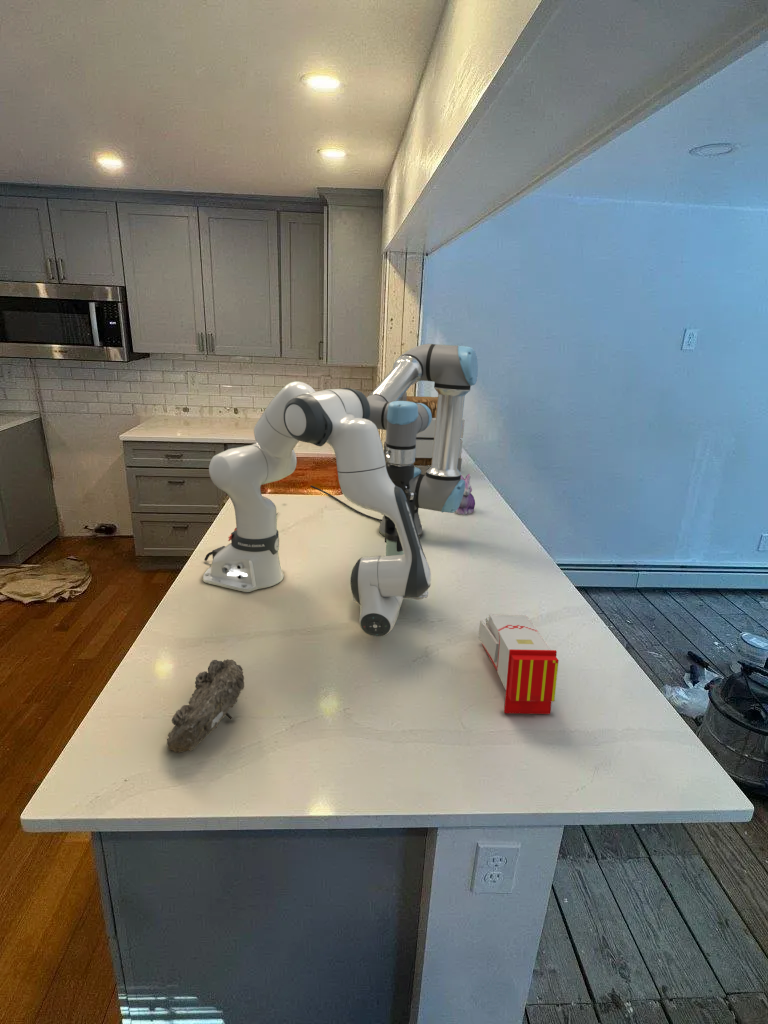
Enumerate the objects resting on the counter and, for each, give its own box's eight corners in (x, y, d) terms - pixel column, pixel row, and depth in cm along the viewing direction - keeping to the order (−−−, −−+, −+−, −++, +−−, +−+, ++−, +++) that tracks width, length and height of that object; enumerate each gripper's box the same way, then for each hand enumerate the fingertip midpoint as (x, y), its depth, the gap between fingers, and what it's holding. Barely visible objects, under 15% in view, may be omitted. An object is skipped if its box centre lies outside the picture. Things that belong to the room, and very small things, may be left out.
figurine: (461, 516, 219) (465, 479, 214) (447, 508, 227) (450, 472, 222) (481, 513, 223) (485, 477, 218) (466, 505, 231) (469, 470, 226)
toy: (524, 600, 137) (567, 656, 108) (520, 651, 140) (560, 720, 111) (474, 599, 137) (504, 655, 107) (471, 650, 140) (498, 719, 110)
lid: (388, 542, 149) (388, 536, 148) (382, 533, 154) (383, 528, 154) (409, 540, 150) (409, 535, 150) (403, 532, 156) (403, 527, 155)
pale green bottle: (387, 588, 161) (390, 529, 155) (404, 591, 159) (407, 532, 153) (381, 595, 156) (384, 535, 150) (398, 599, 155) (402, 538, 149)
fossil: (192, 660, 117) (244, 628, 112) (224, 691, 120) (276, 661, 115) (142, 746, 98) (202, 712, 93) (182, 779, 101) (242, 748, 96)
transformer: (382, 463, 289) (386, 382, 275) (445, 464, 293) (451, 384, 279) (390, 482, 257) (394, 392, 243) (460, 483, 261) (468, 394, 247)
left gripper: (428, 587, 141) (432, 564, 154) (347, 578, 144) (359, 556, 157) (426, 609, 143) (431, 585, 156) (347, 600, 146) (358, 577, 159)
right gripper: (369, 455, 151) (366, 536, 159) (406, 473, 136) (401, 561, 144) (394, 453, 155) (390, 532, 162) (432, 470, 139) (426, 556, 147)
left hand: (394, 570), depth 157 cm, fingers closed on pale green bottle, 5 cm apart
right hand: (395, 545), depth 153 cm, fingers closed on lid, 6 cm apart
